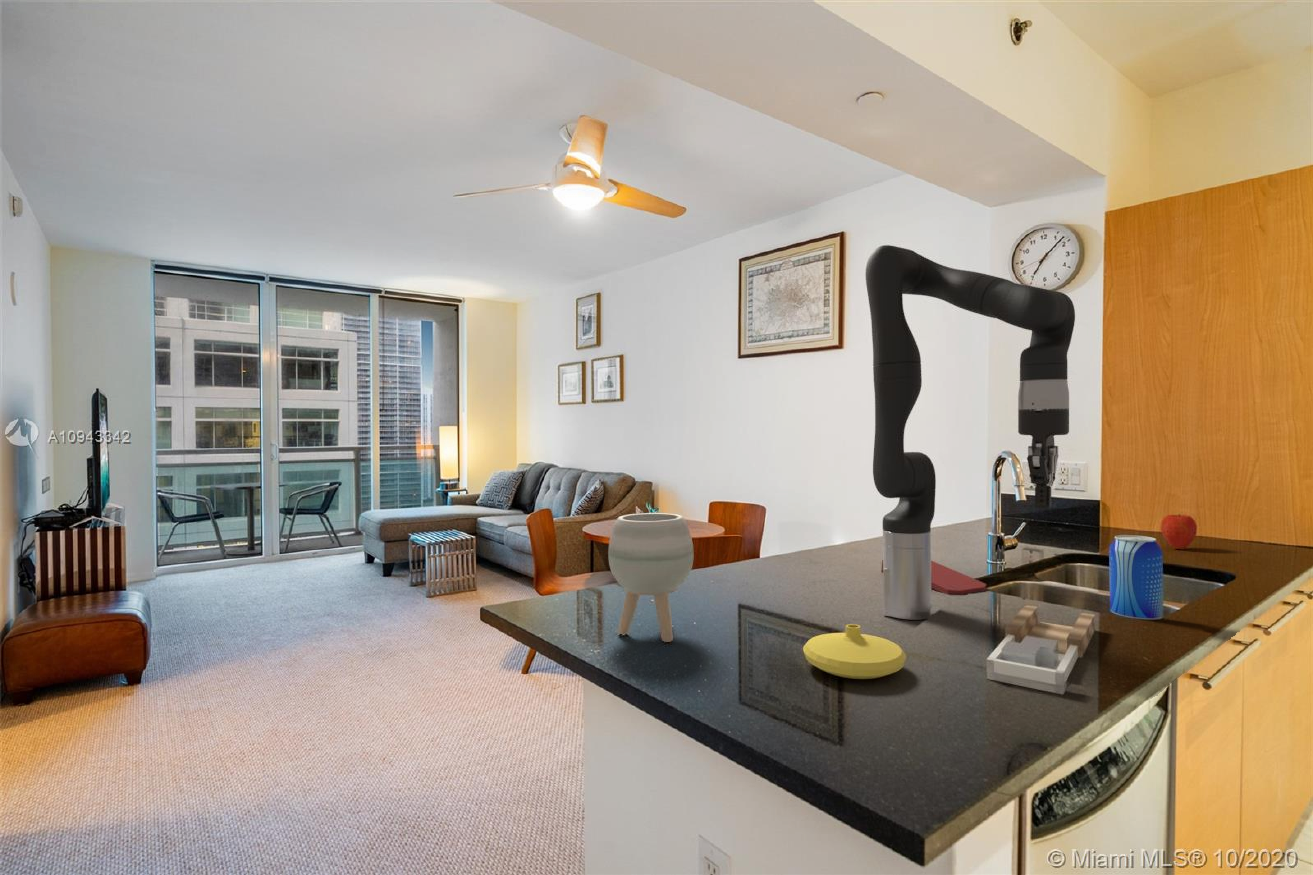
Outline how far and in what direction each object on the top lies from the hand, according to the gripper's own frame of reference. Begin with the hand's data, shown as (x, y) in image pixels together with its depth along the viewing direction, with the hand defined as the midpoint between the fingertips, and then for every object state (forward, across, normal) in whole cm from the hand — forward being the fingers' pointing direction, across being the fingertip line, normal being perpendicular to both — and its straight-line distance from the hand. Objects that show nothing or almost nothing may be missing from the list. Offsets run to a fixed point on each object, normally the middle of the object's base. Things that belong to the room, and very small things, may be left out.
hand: (1043, 508), depth 112 cm
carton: (+26, -38, -31) cm, 56 cm away
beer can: (+24, -29, +11) cm, 39 cm away
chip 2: (+23, +12, +2) cm, 26 cm away
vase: (+25, +29, -21) cm, 44 cm away
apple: (+25, -122, +15) cm, 126 cm away
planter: (+25, +35, -59) cm, 73 cm away
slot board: (+24, -3, +1) cm, 24 cm away
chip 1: (+23, +16, 0) cm, 28 cm away
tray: (+24, +13, +1) cm, 28 cm away
